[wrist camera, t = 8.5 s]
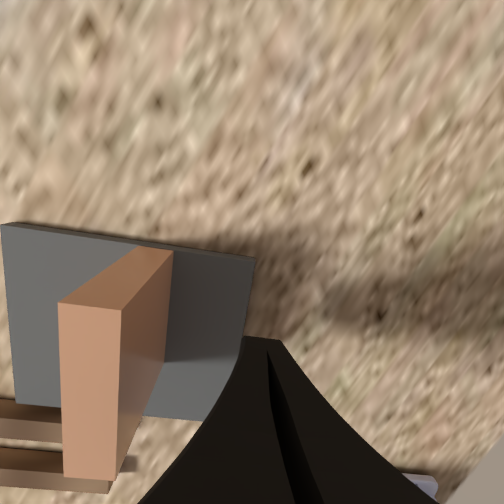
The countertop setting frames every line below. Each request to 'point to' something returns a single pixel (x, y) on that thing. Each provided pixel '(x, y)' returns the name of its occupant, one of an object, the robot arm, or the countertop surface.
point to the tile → (111, 359)
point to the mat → (178, 327)
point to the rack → (37, 462)
